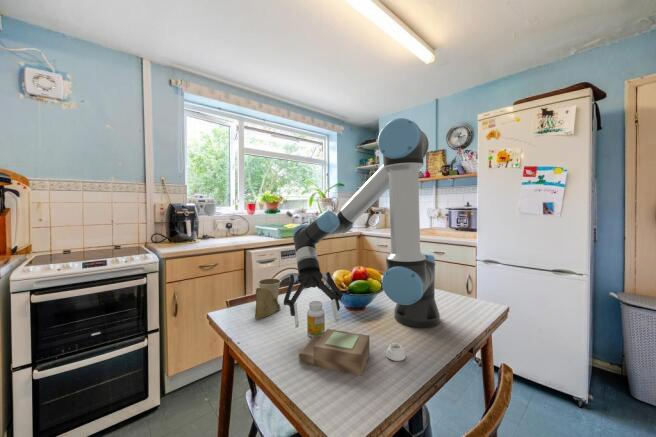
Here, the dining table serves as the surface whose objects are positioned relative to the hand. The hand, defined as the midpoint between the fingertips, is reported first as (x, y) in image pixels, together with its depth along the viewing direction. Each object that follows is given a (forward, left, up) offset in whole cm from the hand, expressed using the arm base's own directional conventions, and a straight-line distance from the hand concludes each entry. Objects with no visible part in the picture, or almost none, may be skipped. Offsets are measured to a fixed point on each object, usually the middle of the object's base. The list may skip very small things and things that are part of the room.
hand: (317, 323), depth 83 cm
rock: (+25, -11, -5) cm, 27 cm away
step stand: (-9, +9, -4) cm, 14 cm away
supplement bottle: (+2, -2, -5) cm, 5 cm away
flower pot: (+31, -22, -5) cm, 38 cm away
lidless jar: (-23, +3, -5) cm, 24 cm away
